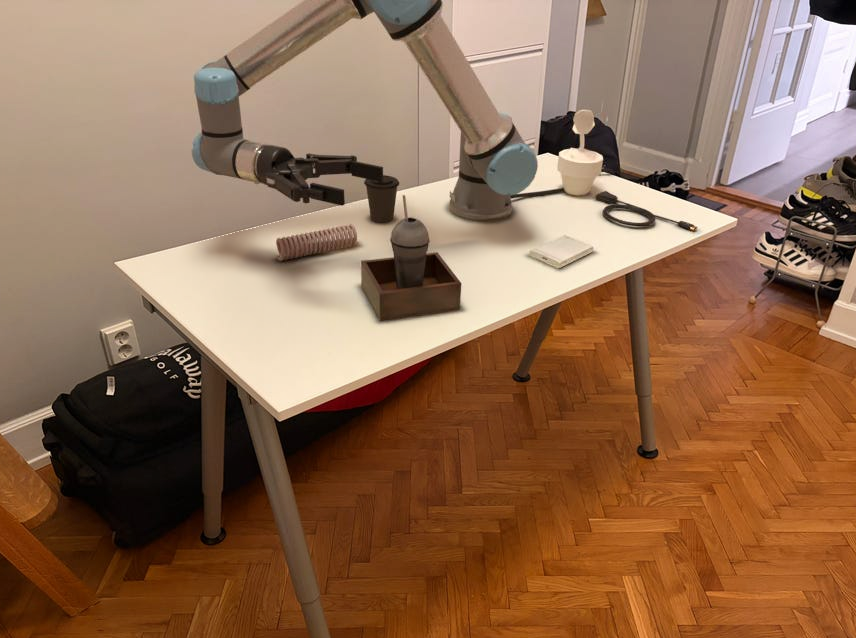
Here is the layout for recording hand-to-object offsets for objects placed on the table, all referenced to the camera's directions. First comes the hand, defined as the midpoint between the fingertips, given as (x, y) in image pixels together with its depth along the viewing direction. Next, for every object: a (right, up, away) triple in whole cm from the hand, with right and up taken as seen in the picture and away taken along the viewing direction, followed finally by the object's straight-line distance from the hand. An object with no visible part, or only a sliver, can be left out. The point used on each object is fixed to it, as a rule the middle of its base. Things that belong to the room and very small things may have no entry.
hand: (363, 185), depth 130 cm
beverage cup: (+8, -19, +8) cm, 22 cm away
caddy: (+8, -20, +8) cm, 23 cm away
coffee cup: (-1, +1, +39) cm, 39 cm away
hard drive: (+40, -8, +28) cm, 49 cm away
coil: (-13, -9, +23) cm, 28 cm away
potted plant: (+48, +13, +62) cm, 79 cm away
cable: (+60, +3, +48) cm, 77 cm away
